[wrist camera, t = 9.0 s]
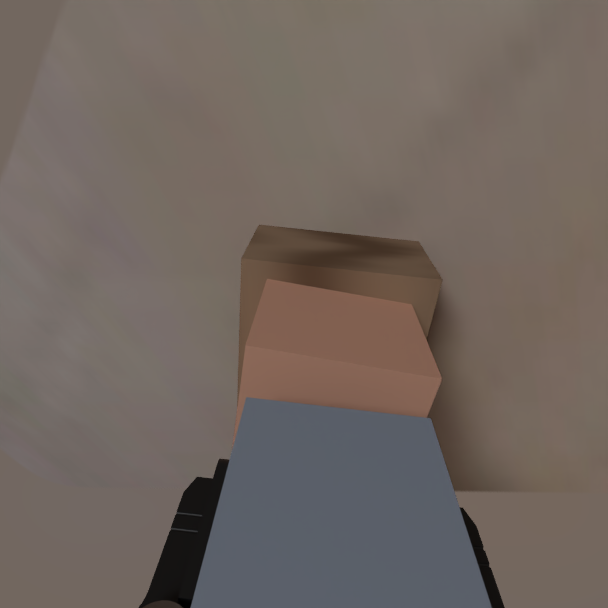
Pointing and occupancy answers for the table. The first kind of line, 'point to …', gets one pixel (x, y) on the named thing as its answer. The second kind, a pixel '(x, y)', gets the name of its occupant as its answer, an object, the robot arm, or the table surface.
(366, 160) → the table surface
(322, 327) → the top block
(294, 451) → the slate block
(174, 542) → the robot arm
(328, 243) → the base block
